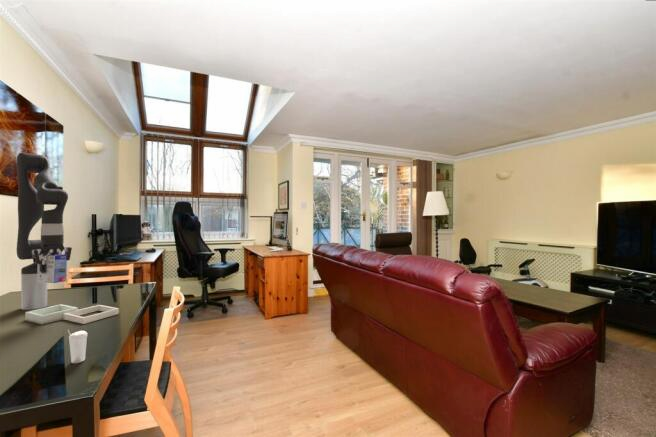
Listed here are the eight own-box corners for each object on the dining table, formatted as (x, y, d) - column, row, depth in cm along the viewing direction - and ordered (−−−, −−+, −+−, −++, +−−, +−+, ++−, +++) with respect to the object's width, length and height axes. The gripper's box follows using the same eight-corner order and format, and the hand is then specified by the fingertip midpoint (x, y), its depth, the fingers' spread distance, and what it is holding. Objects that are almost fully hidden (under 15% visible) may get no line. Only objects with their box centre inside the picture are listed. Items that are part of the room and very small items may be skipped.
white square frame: (63, 319, 133) (63, 313, 133) (99, 309, 147) (99, 304, 147) (83, 324, 128) (83, 318, 128) (118, 313, 141) (118, 308, 141)
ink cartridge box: (67, 281, 137) (67, 249, 137) (54, 283, 132) (54, 250, 131) (50, 280, 139) (50, 248, 139) (36, 282, 134) (36, 249, 133)
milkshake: (73, 358, 97) (73, 326, 97) (90, 357, 98) (91, 326, 98) (62, 364, 93) (62, 332, 93) (80, 364, 93) (80, 331, 93)
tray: (25, 320, 132) (25, 312, 132) (61, 311, 144) (61, 304, 144) (42, 324, 127) (42, 316, 127) (77, 315, 139) (77, 307, 139)
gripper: (66, 232, 143) (66, 268, 143) (26, 234, 130) (26, 273, 130) (76, 233, 140) (76, 269, 141) (36, 235, 127) (36, 275, 127)
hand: (52, 271), depth 135 cm, fingers closed on ink cartridge box, 5 cm apart
